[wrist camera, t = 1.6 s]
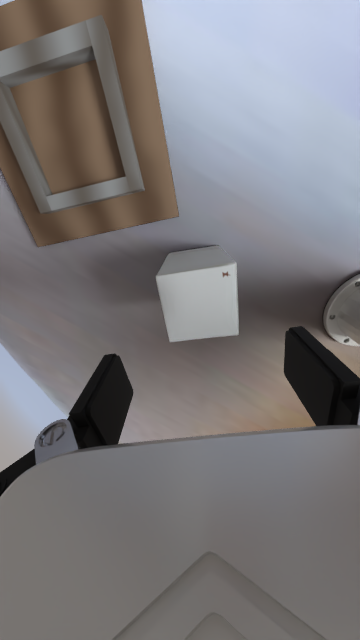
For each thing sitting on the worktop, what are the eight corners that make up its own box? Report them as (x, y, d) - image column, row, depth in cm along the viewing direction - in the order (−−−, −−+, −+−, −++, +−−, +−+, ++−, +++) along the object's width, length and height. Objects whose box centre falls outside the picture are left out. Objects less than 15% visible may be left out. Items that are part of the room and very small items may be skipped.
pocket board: (136, -30, 18) (127, -71, 16) (179, 216, 27) (178, 216, 24) (-52, 41, 20) (-85, 16, 18) (43, 246, 29) (29, 248, 27)
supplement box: (167, 252, 29) (153, 273, 17) (219, 244, 28) (240, 260, 17) (175, 300, 32) (167, 344, 21) (222, 294, 31) (241, 336, 20)
